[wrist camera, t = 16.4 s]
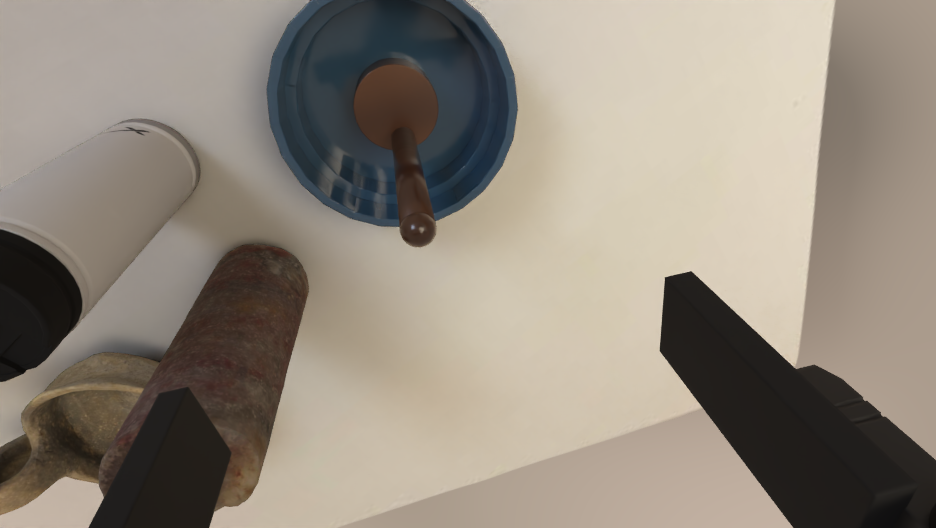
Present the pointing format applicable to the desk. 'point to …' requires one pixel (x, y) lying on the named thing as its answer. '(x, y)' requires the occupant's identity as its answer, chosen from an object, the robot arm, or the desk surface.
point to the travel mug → (82, 231)
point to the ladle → (401, 135)
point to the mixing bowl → (333, 89)
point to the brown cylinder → (230, 361)
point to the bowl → (71, 425)
